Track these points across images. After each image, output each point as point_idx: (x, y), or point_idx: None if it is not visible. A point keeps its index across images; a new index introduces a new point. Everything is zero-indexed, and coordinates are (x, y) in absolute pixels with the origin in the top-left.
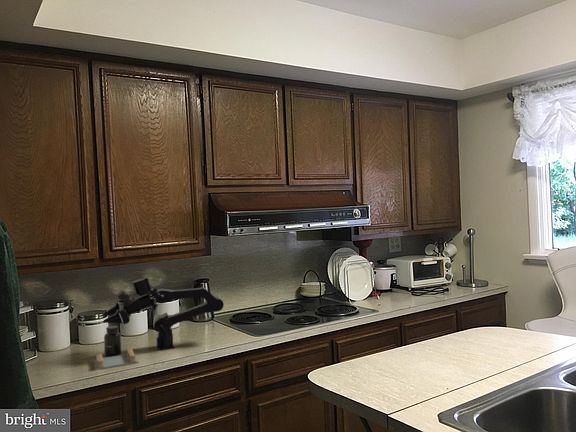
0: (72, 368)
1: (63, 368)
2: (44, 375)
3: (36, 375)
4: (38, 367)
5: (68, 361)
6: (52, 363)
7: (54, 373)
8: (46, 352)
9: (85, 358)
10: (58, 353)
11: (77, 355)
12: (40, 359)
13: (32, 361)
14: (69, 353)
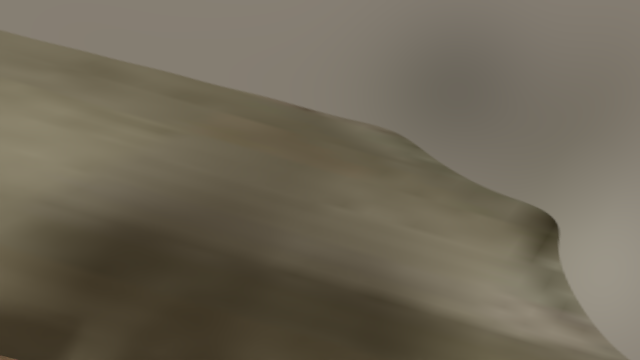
0: (8, 195)
1: (76, 165)
2: (41, 74)
3: (86, 60)
4: (235, 109)
5: (223, 234)
6: (257, 167)
7: (20, 107)
8: (523, 219)
9: (199, 344)
10: (469, 254)
11: (341, 325)
12: (390, 160)
13: (375, 130)
14: (432, 301)
